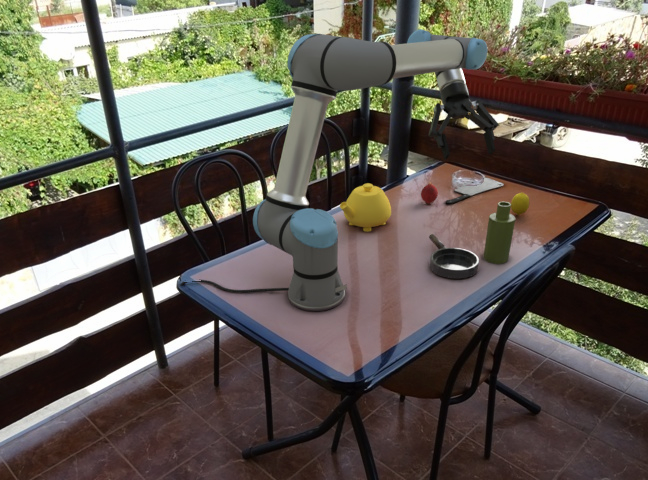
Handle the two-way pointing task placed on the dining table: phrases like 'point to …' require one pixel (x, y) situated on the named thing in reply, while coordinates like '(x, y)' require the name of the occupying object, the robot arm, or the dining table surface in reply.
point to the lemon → (520, 203)
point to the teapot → (367, 207)
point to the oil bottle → (499, 234)
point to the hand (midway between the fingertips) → (469, 154)
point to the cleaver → (475, 189)
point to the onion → (429, 193)
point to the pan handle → (436, 241)
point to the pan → (454, 263)
